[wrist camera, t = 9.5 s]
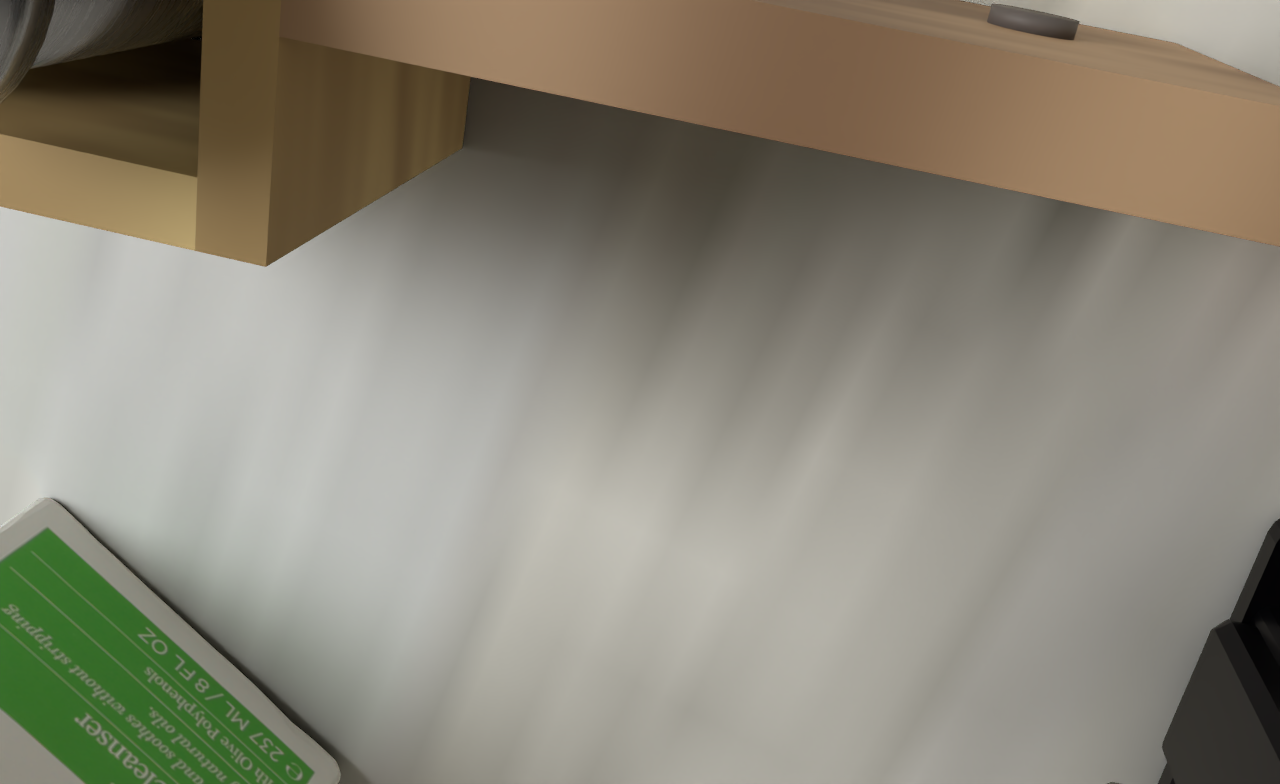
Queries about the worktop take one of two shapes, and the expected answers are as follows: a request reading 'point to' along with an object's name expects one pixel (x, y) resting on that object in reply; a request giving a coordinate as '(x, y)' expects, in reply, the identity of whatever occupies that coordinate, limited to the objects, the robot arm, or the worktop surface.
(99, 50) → the hinge pin
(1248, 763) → the robot arm
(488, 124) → the worktop surface
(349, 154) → the knuckle leaf
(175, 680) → the skincare box
